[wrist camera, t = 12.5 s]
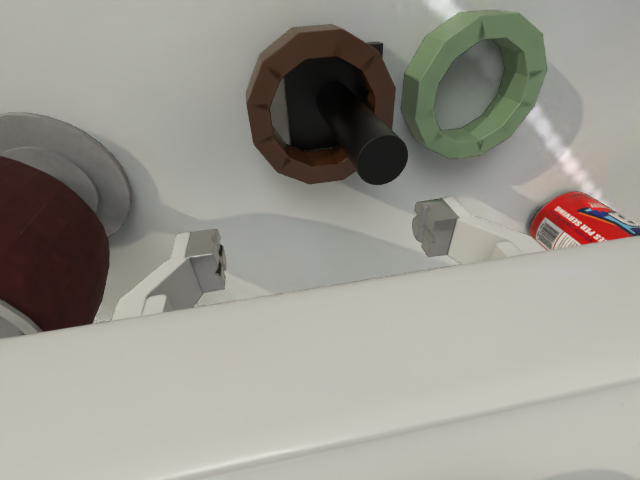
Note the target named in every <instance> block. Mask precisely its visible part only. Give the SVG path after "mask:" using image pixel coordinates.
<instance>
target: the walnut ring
mask: <svg viewBox="0 0 640 480" xmlns="http://www.w3.org/2000/svg"><path fill="white" fill-rule="evenodd" d="M335 56H337V57H339V58H341V59H342V60H344V61H346V62H348V63H349V64H351V65H352V66H353V68H354V70H355V72H356V74H357V76H358V77H359V79H360V81H361V83H362V85H363V103H364V104H365V105H366V106H367V107H368V108H369V109H370V110H371V111H372V112H373V113H374V114H375V115H376V116H377V117H378V118H380V119H381V120H382V121H383V122H384V123H385V124H386V125H387V126H388V127H389V128H390V129H392V124H393V113H394V101H395V90H396V89H395V86H394V83H393V81H392V79H391V77H390V75H389V72H388V70H387V68H386V66H385V63H384V61H383V59H382V57H381V55H380V52H379V51H378V50H376V49H375V48H373V47H372V46H370V45H368V44H367V43H365V42H363V41H362V40H360V39H359V38H357V37H355V36H354V35H352V34H350V33H349V32H347V31H346V30H344V29H342V28H340V27H337V26H335V25H332V24H328V25H316V26H303V27H293V28H291V29H290V30H288V31H287V32H286V33H285V34H283V35H282V36H281V37H280V38H278V39H277V40H276V41H275V42H274V43H272V44H271V45H270V46H269V47H267V48H266V49H265V50H264V51H262V52H261V53H260V55H259V57H258V60H257V62H256V65H255V68H254V71H253V74H252V77H251V79H250V82H249V85H248V88H247V91H246V103H247V110H248V115H249V121H250V127H251V132H252V138H253V143H254V145H255V147H256V148H257V149H258V150H259V151H260V152H261V154H262V155H263V156H264V157H265V158H266V160H267V161H268V162H269V163H270V164H271V166H272V167H273V168H274V169H275V170H276V171H277V172H278V173H280V174H283V175H286V176H288V177H291V178H294V179H297V180H299V181H302V182H305V183H307V184H316V183H323V182H331V181H338V180H343V179H345V178H347V177H348V176H350V175H351V174H353V173H354V172H356V169H355V168H354V166H353V165H352V163H351V161H350V160H349V158H348V157H347V155H346V154H345V152H344V150H343V149H342V147H341V146H340V144H337V145H336V146H334V147H333V148H331V149H328V150H320V151H312V152H306V151H304V150H301V149H299V148H296V147H294V146H291V145H289V144H287V143H285V142H284V140H283V139H282V138H281V136H280V135H279V134H278V132H277V131H276V130H275V129H274V127H273V126H272V121H271V114H270V105H271V103H272V100H273V98H274V95H275V93H276V90H277V88H278V85H279V83H280V80H281V78H283V77H284V76H285V75H287V74H288V73H289V72H290V71H292V70H293V69H294V68H295V67H297V66H298V65H299V64H301V63H302V62H303V61H304V60H306V59H313V58H324V57H335Z"/></svg>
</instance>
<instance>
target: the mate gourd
mask: <svg viewBox="0 0 640 480" xmlns="http://www.w3.org/2000/svg"><path fill="white" fill-rule="evenodd" d="M131 202H132V201H131V188H130V185H129V182H128V178H127V176H126V174H125V172H124V171H123V169H122V167H121V165H120V164H119V163H118V161H117V160H116V159H115V158H114V156H113V155H112V154H111V153H110V152H109V151H108V150H107V149H106V148H105V147H104V146H103V145H102V144H100V143H99V142H98V141H97V140H95V139H94V138H92V137H91V136H89V135H88V134H86V133H85V132H84V131H82V130H80V129H78V128H76V127H74V126H72V125H70V124H68V123H65V122H62V121H59V120H57V119H54V118H51V117H48V116H42V115H37V114H32V113H12V112H10V113H3V114H0V338H6V337H13V336H20V335H27V334H33V333H39V332H45V331H51V330H58V329H64V328H70V327H76V326H82V325H89V324H92V323H93V321H94V318H95V316H96V313H97V311H98V309H99V306H100V304H101V302H102V299H103V294H104V289H105V285H106V280H107V274H108V269H109V255H110V252H109V241H108V237H109V236H110V235H112V234H114V233H115V232H116V231H117V230H118V229H119V228H120V227H121V226H122V225H123V223H124V221H125V219H126V217H127V216H128V213H129V211H130V206H131Z"/></svg>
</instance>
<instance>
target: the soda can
mask: <svg viewBox="0 0 640 480" xmlns="http://www.w3.org/2000/svg"><path fill="white" fill-rule="evenodd" d="M530 236H531V237H532V238H534V239H535V240H536V241H537V242H538V243H539V244H540V245H541V246H542V247H544V248H545V249H546V250H553V249H560V248H566V247H572V246H578V245H584V244H590V243H596V242H602V241H608V240H615V239H621V238H627V237H633V236H640V226H638V225H637V224H635V223H633V222H632V221H630V220H629V219H627V218H625V217H624V216H622V215H620V214H619V213H617V212H615V211H614V210H612V209H610V208H609V207H607V206H606V205H604V204H602V203H601V202H599V201H597V200H596V199H594V198H592V197H591V196H589V195H587V194H585V193H583V192H568V193H565V194H562V195H560V196H558V197H556V198H554V199H552V200H551V201H549V202H548V203H547V204H545V205H544V206H543V207H542V208H541V209H540V210H539V211H538V213H537V214H536V215H535V217H534V219H533V220H532V223H531V226H530Z"/></svg>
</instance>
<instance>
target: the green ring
mask: <svg viewBox="0 0 640 480" xmlns="http://www.w3.org/2000/svg"><path fill="white" fill-rule="evenodd" d="M488 39H491V40H493V41H494V42H495V43H497V44H498V45H499V46H500V49H501V53H502V58H503V63H504V67H505V69H504V73H503V77H502V80H501V84H500V88H499V91H498V94H497V96H496V97H495V98H494V100H493V101H492V103H491V104H490V105H489V107H488V108H487V109H486V111H485V112H484V113H483V115H482V116H480V117H479V118H477V119H476V120H474V121H472V122H471V123H469V124H468V125H466V126H465V127H463V128H459V129H451V130H440V129H439V126H438V124H437V121H436V118H435V116H434V113H433V111H434V105H435V99H436V93H437V87H438V84H439V83H440V81H441V79H442V78H443V76H444V75H445V73H446V72H447V70H448V68H449V67H450V65H451V64H452V62H453V61H454V59H455V58H456V57H457V56H459V55H460V54H462V53H463V52H465V51H466V50H468V49H469V48H470V47H472V46H473V45H475V44H476V43H478V42H479V41H480V40H488ZM546 72H547V64H546V56H545V48H544V40H543V34H542V33H541V32H540V31H539V30H538V29H537V28H536V27H535V26H533V25H532V24H531V23H530V22H529V21H528V20H527V19H525V18H524V17H523V16H522V15H521V14H520V13H517V12H508V11H499V10H484V11H470V12H460V13H457V14H456V15H455V16H453V17H452V18H450V19H449V20H448V21H446V22H445V23H444V24H442V25H441V26H439V27H438V28H437V29H435V30H434V31H432V32H431V33H430V34H428V35H427V36H426V37H425V38H424V40H423V42H422V44H421V45H420V47H419V49H418V51H417V52H416V54H415V56H414V57H413V59H412V61H411V63H410V64H409V66H408V68H407V70H406V71H405V74H404V82H403V92H402V101H401V111H402V113H403V115H404V117H405V120H406V122H407V124H408V126H409V128H410V131H411V133H412V135H413V136H414V137H416V138H417V139H418V140H419V141H420V142H421V143H422V144H424V145H425V146H426V147H427V148H429V149H431V150H433V151H435V152H437V153H439V154H441V155H443V156H444V157H446V158H448V159H457V158H465V157H473V156H480V155H482V154H483V153H485V152H486V151H488V150H490V149H491V148H493V147H494V146H496V145H498V144H499V143H501V142H502V141H504V140H506V139H507V138H509V137H510V136H511V135H512V134H513V132H514V131H515V130H516V129H517V127H518V126H519V125H520V124H521V122H522V121H523V120H524V119H525V117H526V116H527V115H528V114H529V112H530V111H531V110H532V109H533V107H534V106H535V103H536V100H537V98H538V95H539V92H540V89H541V86H542V83H543V80H544V77H545V74H546Z"/></svg>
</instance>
